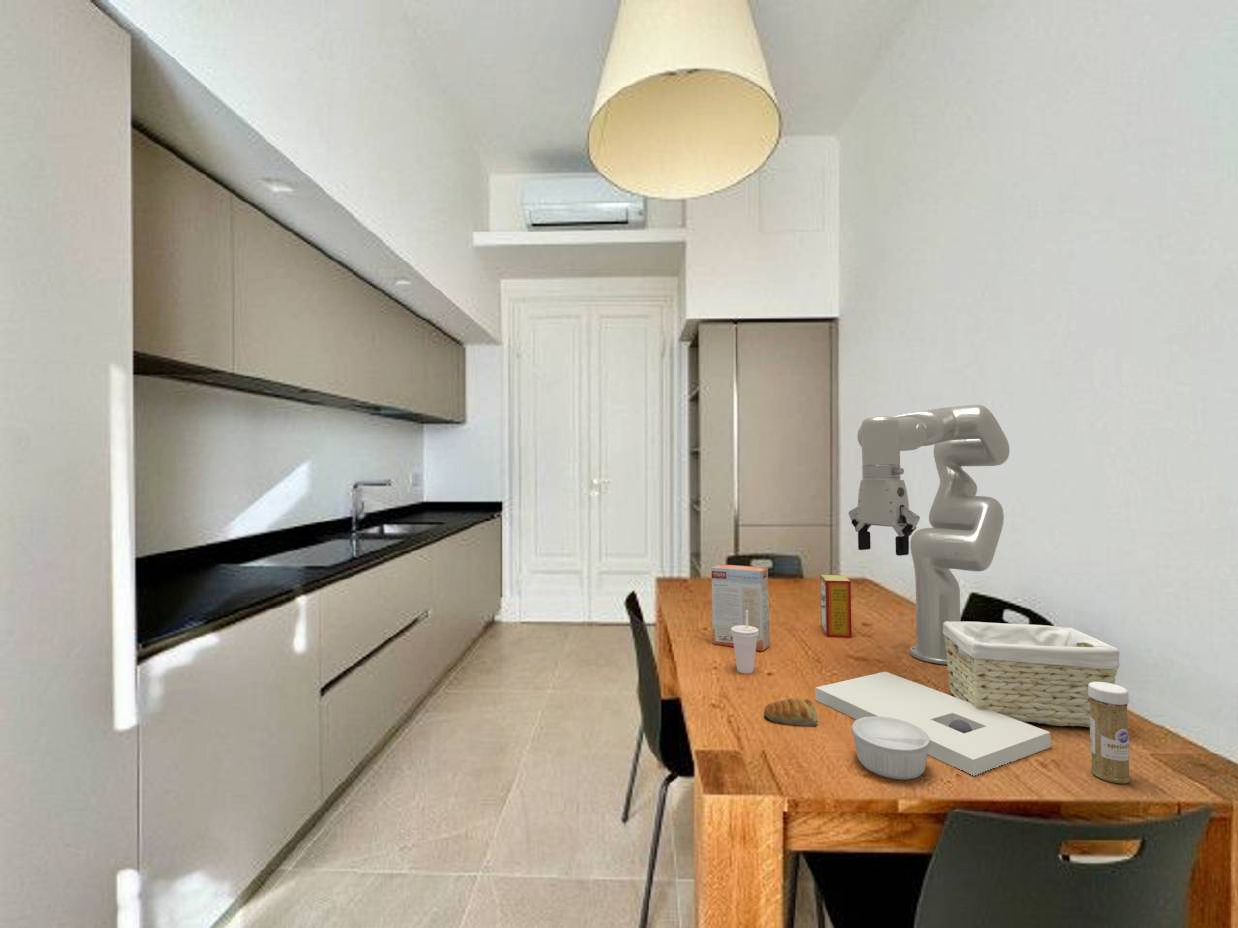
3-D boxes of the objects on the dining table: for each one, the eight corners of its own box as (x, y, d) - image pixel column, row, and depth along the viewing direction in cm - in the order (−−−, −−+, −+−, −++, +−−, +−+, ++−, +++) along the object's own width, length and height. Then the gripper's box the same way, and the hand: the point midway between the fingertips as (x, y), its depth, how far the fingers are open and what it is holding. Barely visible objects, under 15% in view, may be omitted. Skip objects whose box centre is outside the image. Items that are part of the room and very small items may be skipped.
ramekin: (894, 791, 81) (894, 754, 81) (836, 756, 91) (835, 723, 91) (948, 774, 85) (947, 739, 86) (886, 742, 96) (885, 711, 96)
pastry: (767, 726, 102) (767, 705, 102) (761, 711, 109) (760, 691, 109) (820, 728, 101) (820, 706, 102) (810, 712, 108) (810, 692, 108)
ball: (961, 711, 97) (980, 729, 94) (953, 722, 99) (971, 740, 96) (949, 721, 95) (968, 738, 93) (940, 732, 97) (959, 749, 95)
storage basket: (1072, 698, 112) (1070, 623, 113) (1127, 735, 96) (1125, 648, 97) (940, 690, 117) (939, 619, 117) (973, 724, 101) (971, 642, 101)
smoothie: (760, 676, 127) (759, 613, 127) (731, 674, 128) (730, 612, 128) (758, 666, 133) (757, 607, 133) (731, 665, 134) (730, 606, 135)
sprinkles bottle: (1120, 787, 81) (1117, 693, 81) (1083, 772, 85) (1081, 683, 85) (1137, 780, 83) (1134, 688, 83) (1100, 765, 87) (1098, 678, 87)
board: (815, 699, 113) (815, 687, 114) (885, 682, 122) (885, 671, 122) (973, 776, 85) (973, 759, 85) (1050, 747, 93) (1050, 732, 93)
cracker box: (770, 646, 149) (769, 566, 149) (763, 652, 144) (761, 570, 144) (720, 638, 156) (719, 563, 157) (711, 644, 151) (710, 566, 151)
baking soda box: (821, 627, 166) (820, 573, 166) (844, 628, 164) (843, 573, 165) (826, 637, 156) (825, 579, 157) (851, 638, 155) (850, 579, 155)
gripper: (929, 473, 117) (931, 556, 116) (861, 473, 132) (862, 546, 132) (904, 473, 113) (906, 558, 113) (837, 474, 129) (839, 548, 129)
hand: (882, 552), depth 122 cm, fingers open, 9 cm apart
